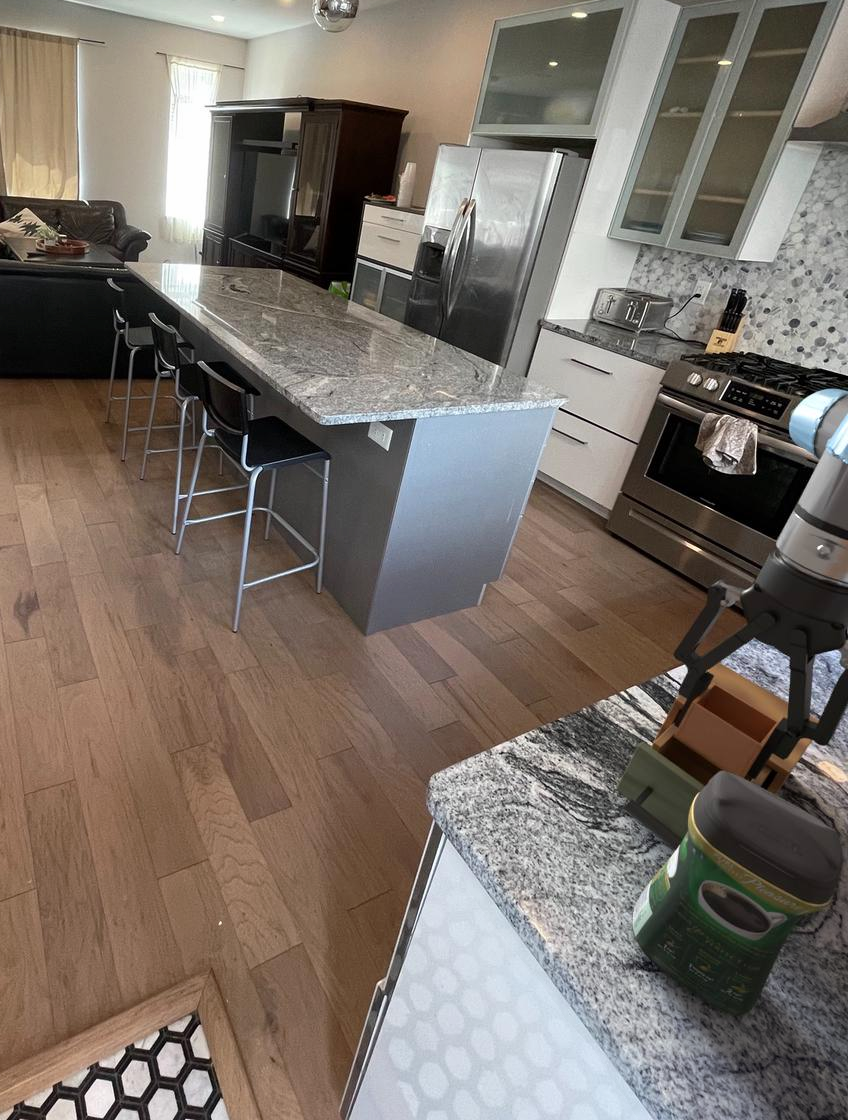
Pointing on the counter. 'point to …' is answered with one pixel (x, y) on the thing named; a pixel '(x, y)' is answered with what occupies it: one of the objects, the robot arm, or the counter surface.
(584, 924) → the counter surface
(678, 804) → the drawer
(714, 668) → the cabinet
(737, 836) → the coffee jar
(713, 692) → the brown open box
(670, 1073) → the counter surface
